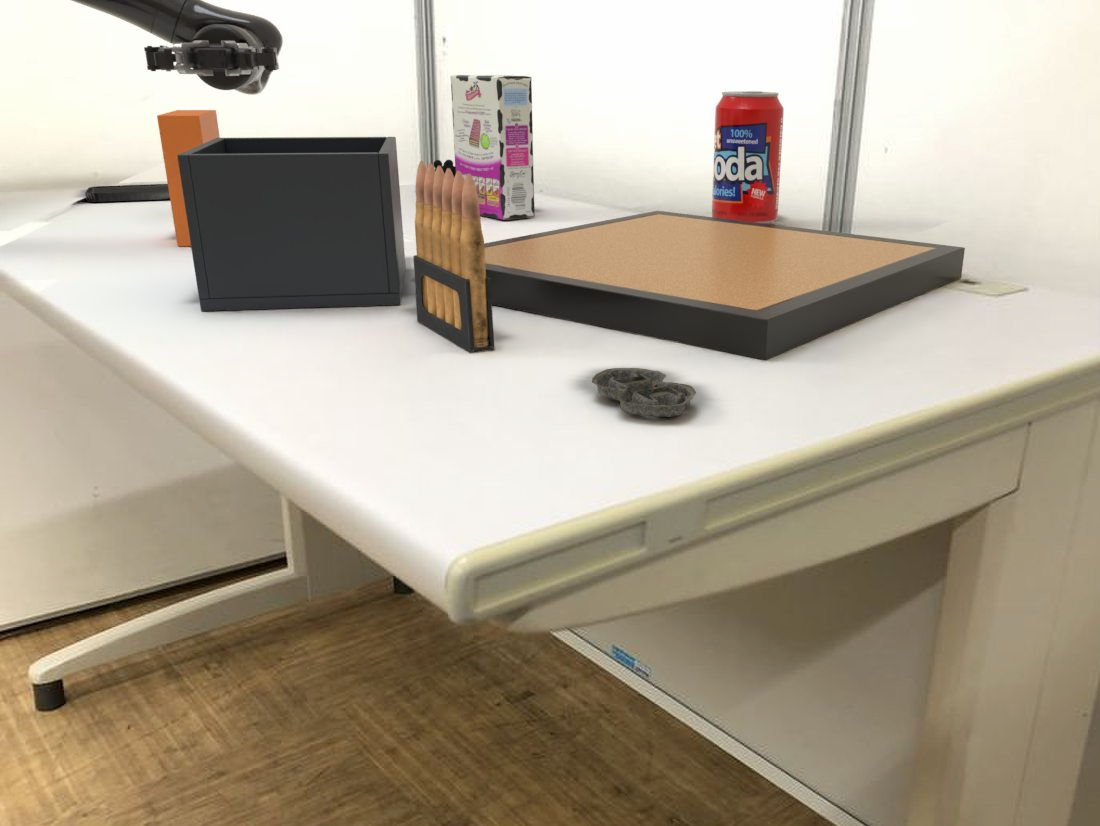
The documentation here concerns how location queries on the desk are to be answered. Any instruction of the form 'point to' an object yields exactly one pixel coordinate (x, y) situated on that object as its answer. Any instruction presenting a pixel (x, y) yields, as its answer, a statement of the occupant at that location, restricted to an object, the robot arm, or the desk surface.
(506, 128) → the candy bar box
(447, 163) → the wireless earbuds
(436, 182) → the ammunition clip
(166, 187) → the phone
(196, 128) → the block
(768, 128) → the soda can
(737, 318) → the cork board
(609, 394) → the corroded twin loop
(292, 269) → the trash can
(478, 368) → the desk surface
